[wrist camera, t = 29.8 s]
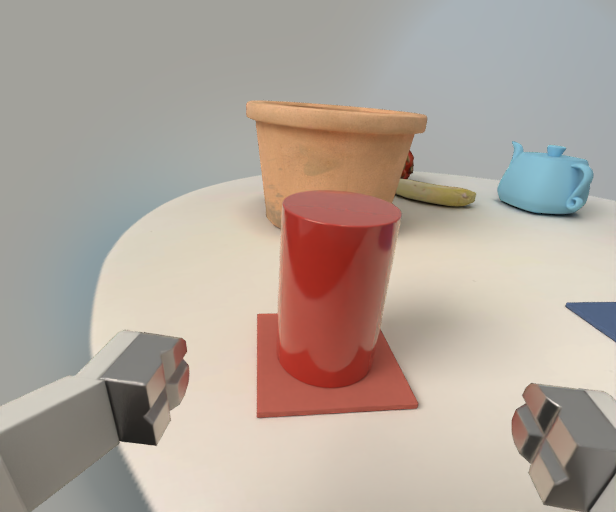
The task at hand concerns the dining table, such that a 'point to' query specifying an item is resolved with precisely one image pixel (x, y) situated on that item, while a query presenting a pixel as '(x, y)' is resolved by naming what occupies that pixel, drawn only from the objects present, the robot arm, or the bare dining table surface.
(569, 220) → the dining table surface
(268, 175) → the pottery
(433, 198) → the fruit
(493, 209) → the dining table surface
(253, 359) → the dining table surface
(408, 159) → the dragon fruit
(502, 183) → the teapot
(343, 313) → the red canister
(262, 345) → the red mat
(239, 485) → the dining table surface
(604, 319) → the blue mat
